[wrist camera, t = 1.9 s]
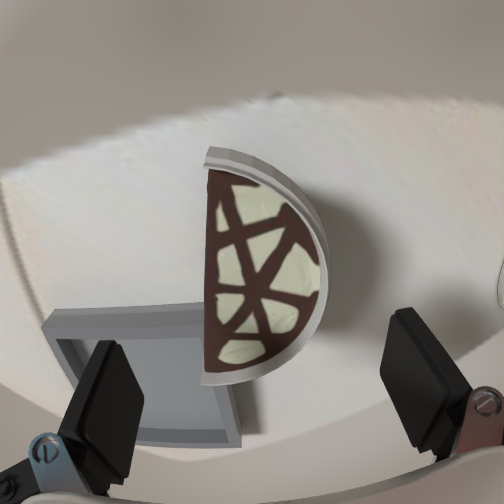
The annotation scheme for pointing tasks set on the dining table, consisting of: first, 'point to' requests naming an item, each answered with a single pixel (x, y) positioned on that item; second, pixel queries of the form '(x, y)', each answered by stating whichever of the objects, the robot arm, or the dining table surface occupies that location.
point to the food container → (258, 269)
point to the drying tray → (154, 369)
